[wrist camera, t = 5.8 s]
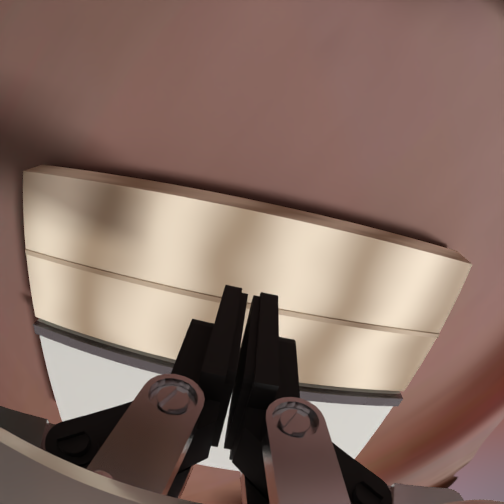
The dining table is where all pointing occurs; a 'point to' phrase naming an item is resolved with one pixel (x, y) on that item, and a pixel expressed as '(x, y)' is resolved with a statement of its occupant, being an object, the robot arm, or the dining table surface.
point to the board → (149, 365)
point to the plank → (232, 273)
